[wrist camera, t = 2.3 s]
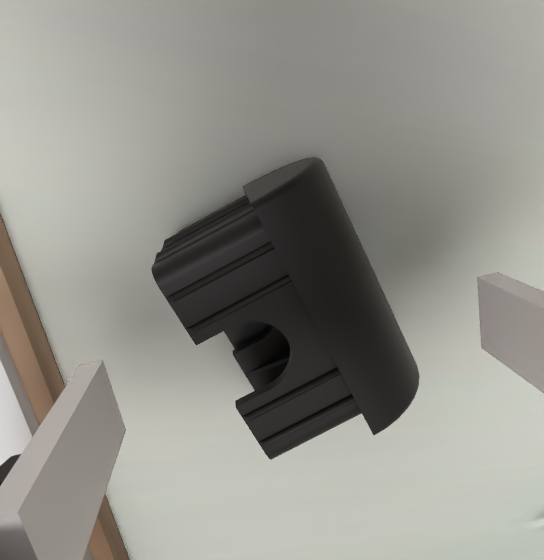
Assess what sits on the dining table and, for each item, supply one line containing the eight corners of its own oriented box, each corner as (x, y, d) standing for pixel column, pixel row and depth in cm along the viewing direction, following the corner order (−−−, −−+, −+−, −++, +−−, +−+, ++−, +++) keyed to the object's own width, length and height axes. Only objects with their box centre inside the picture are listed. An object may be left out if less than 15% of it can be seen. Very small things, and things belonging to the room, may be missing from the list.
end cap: (385, 330, 23) (448, 401, 17) (264, 393, 24) (281, 486, 17) (301, 152, 20) (338, 156, 14) (163, 227, 21) (137, 264, 14)
